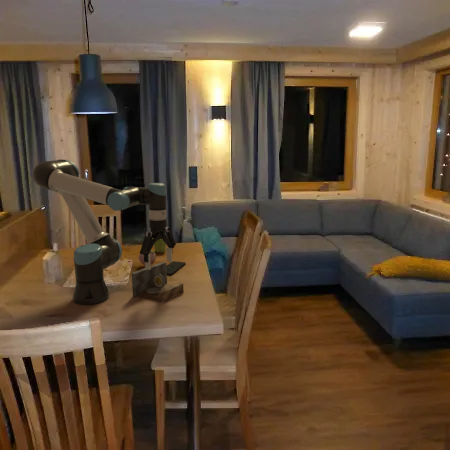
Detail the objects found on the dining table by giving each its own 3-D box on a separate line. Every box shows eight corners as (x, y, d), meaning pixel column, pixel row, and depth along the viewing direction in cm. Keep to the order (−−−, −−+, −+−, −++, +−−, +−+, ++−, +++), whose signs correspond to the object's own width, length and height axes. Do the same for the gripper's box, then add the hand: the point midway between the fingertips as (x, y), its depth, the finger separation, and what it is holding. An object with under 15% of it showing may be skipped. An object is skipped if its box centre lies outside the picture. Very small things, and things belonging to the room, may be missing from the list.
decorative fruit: (158, 263, 232) (157, 246, 230) (154, 268, 224) (153, 250, 222) (141, 263, 233) (141, 246, 231) (137, 268, 225) (136, 250, 223)
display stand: (157, 304, 177) (156, 279, 175) (132, 296, 186) (131, 272, 183) (187, 290, 193) (187, 267, 191) (164, 283, 201) (163, 261, 199)
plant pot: (162, 248, 263) (162, 235, 261) (170, 251, 256) (170, 237, 254) (149, 251, 257) (149, 237, 256) (157, 254, 250) (157, 240, 249)
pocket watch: (144, 294, 183) (143, 273, 181) (149, 287, 192) (148, 267, 190) (163, 295, 183) (162, 273, 181) (166, 288, 191) (166, 267, 189)
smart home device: (156, 272, 214) (172, 260, 233) (157, 275, 215) (172, 263, 234) (171, 273, 212) (186, 262, 231) (171, 276, 212) (186, 265, 231)
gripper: (142, 224, 170) (144, 274, 174) (183, 215, 190) (183, 260, 194) (130, 222, 174) (132, 270, 179) (171, 213, 194) (171, 257, 199)
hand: (158, 265), depth 187 cm, fingers open, 13 cm apart
